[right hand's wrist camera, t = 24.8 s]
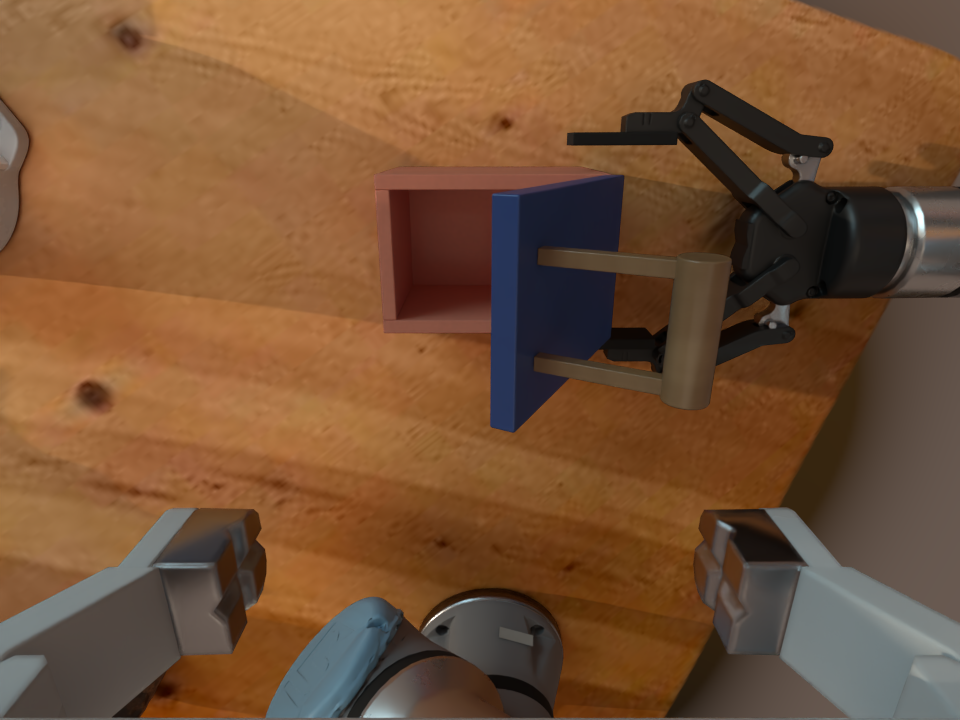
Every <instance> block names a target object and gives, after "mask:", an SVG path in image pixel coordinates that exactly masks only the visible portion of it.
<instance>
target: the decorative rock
mask: <svg viewBox="0 0 960 720" xmlns="http://www.w3.org/2000/svg"><path fill="white" fill-rule="evenodd" d="M165 673H166V671H165V672H164V673H163V674H162V675H160V676H159V677H158V678H157V679H156V680H155V681H153V682H152V683H151V684H150V685H149V686H148V687H146V688H145V689H144V690H143V691H142V692H140V693H139V694H138V695H137V696H136V697H135V698H133V699H132V700H131V701H130V702H129V703H128V704H126V705H125V706H124V707H123V708H122V709H121V710H119V711H118V712H117V713H116V714H115V715H114V716H112V717H111V718H140V716H141V715H142V713H143V712H144V711H145V709H146V707H147V705H148V703H149V701H150V700H151V699H152V697H153V696H154V694H155V692H156V690H157V686H158V685H159V683H160V682H161V680H162V679H163V677H164V675H165Z"/></svg>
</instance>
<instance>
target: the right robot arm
mask: <svg viewBox="0 0 960 720" xmlns="http://www.w3.org/2000/svg"><path fill="white" fill-rule="evenodd" d="M28 147H29V138H28V134H27V132H26V130H25V128H24V127H23V126H22V124H21V123H20V122H19V121H18V120H17V118H16V117H15V116H14V115H13V114H12V112H11V111H10V110H9V109H8V108H7V106H6V105H5V104H4V103H3V102H2V100H1V99H0V251H1V250H2V249H3V248H4V246H5V245H6V244H7V242H8V241H9V239H10V237H11V235H12V233H13V231H14V228H15V226H16V222H17V217H18V210H19V191H18V175H19V171H20V168H21V166H22V164H23V162H24V159H25V157H26V154H27V151H28ZM261 529H262V528H261V524H260V519H259V514H258V513H257V512H256V511H255V510H254V509H225V508H200V509H199V508H172V509H169V510H166V511H165V513H164V514H163V515H162V516H161V517H160V518H159V519H158V521H157V522H156V523H155V524H154V525H153V526H152V528H151V529H150V530H149V531H148V532H147V533H146V535H145V536H144V537H143V538H142V539H141V540H140V542H139V543H138V544H137V545H136V546H135V547H134V549H133V550H132V551H131V552H130V553H129V554H128V555H127V557H126V558H125V559H124V560H123V561H122V562H121V564H120V565H119V566H118V567H108V568H106V569H104V570H102V571H100V572H98V573H96V574H94V575H92V576H90V577H88V578H87V579H85V580H83V581H81V582H79V583H77V584H75V585H73V586H71V587H69V588H67V589H65V590H63V591H61V592H59V593H58V594H56V595H54V596H52V597H50V598H48V599H46V600H44V601H42V602H40V603H38V604H36V605H34V606H32V607H30V608H29V609H27V610H25V611H23V612H21V613H19V614H17V615H15V616H13V617H11V618H9V619H7V620H5V621H3V622H1V623H0V720H960V623H958V622H956V621H954V620H952V619H950V618H949V617H947V616H945V615H943V614H941V613H939V612H937V611H935V610H933V609H931V608H929V607H927V606H925V605H924V604H921V603H920V602H918V601H916V600H914V599H912V598H910V597H908V596H906V595H904V594H902V593H900V592H898V591H897V590H895V589H893V588H891V587H889V586H887V585H885V584H883V583H881V582H879V581H877V580H875V579H873V578H871V577H869V576H868V575H866V574H864V573H862V572H860V571H858V570H856V569H854V568H852V567H842V566H841V565H840V564H839V563H838V561H837V560H836V559H835V558H834V557H833V556H832V554H831V553H830V552H829V551H828V550H827V549H826V547H825V546H824V545H823V544H822V543H821V542H820V540H819V539H818V538H817V537H816V536H815V535H814V534H813V532H812V531H811V530H810V529H809V528H808V527H807V525H806V524H805V523H804V522H803V521H802V520H801V518H800V517H799V516H798V515H797V514H796V513H795V511H793V510H791V509H789V508H760V509H728V510H704V511H703V513H702V515H701V517H700V523H699V528H698V529H699V531H700V532H701V534H702V536H703V538H704V541H703V542H702V543H701V544H700V545H699V546H698V547H697V548H696V549H695V554H694V562H693V567H694V579H695V583H696V587H697V590H698V593H699V595H700V597H701V599H702V601H703V603H704V604H706V605H707V606H709V607H710V608H711V609H713V610H714V611H715V612H714V617H713V624H714V626H715V628H716V630H717V632H718V634H719V636H720V638H721V640H722V642H723V644H724V646H725V648H726V650H727V652H728V654H752V655H780V656H779V658H780V659H781V660H782V661H784V662H785V663H786V664H787V665H788V666H789V667H791V668H792V669H793V670H794V671H795V672H796V673H798V674H799V675H800V676H801V677H802V678H803V679H805V680H806V681H807V682H808V683H809V684H810V685H812V686H813V687H814V688H815V689H816V690H817V691H819V692H820V693H821V694H822V695H823V696H824V697H826V698H827V699H828V700H829V701H830V702H831V703H833V704H834V705H835V706H836V707H837V708H838V709H840V710H841V711H842V712H843V713H844V714H845V715H847V716H848V717H849V718H111V717H112V716H114V715H115V714H116V713H117V712H118V711H119V710H121V709H122V708H123V707H124V706H125V705H126V704H128V703H129V702H130V701H131V700H132V699H133V698H135V697H136V696H137V695H138V694H139V693H140V692H142V691H143V690H144V689H145V688H146V687H148V686H149V685H150V684H151V683H152V682H153V681H155V680H156V679H157V678H158V677H159V676H160V675H162V674H163V673H164V672H165V671H166V670H167V669H169V668H170V667H171V666H172V665H173V664H174V663H176V662H177V661H178V660H179V659H180V658H181V657H180V655H208V654H232V653H233V651H234V649H235V647H236V644H237V642H238V640H239V638H240V636H241V634H242V632H243V630H244V628H245V626H246V624H247V618H246V612H245V611H246V610H247V609H249V608H250V607H251V606H253V605H254V604H256V603H257V601H258V599H259V597H260V595H261V593H262V590H263V587H264V582H265V577H266V562H267V560H266V553H265V549H264V548H263V547H262V546H261V545H260V544H259V543H258V542H257V541H256V538H257V536H258V534H259V532H260V531H261Z"/></svg>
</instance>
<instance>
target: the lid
mask: <svg viewBox="0 0 960 720" xmlns="http://www.w3.org/2000/svg"><path fill="white" fill-rule="evenodd" d="M623 186H624V176H623V175H602V176H596V177H590V178H583V179H577V180H571V181H565V182H559V183H553V184H547V185H541V186H535V187H529V188H523V189H517V190H511V191H505V192H499V193H494V194H492V266H491V413H490V426H491V427H492V428H496V429H500V430H505V431H509V432H515V431H516V430H517V429H518V428H519V427H520V426H521V425H522V424H524V423H525V422H526V421H527V420H528V419H529V418H530V417H531V416H532V415H533V414H534V413H535V412H536V411H537V410H538V409H539V408H540V407H541V406H542V405H543V404H544V403H545V402H546V401H547V400H548V399H549V398H550V397H551V396H552V395H553V394H554V393H555V392H556V391H557V390H558V389H559V388H560V387H561V386H562V385H563V384H564V383H565V382H566V381H567V380H568V379H569V378H572V379H577V380H583V381H588V382H593V383H598V384H604V385H609V386H614V387H619V388H624V389H630V390H635V391H640V392H645V393H651V394H656V395H660V399H661V400H662V402H664V403H665V404H667V405H669V406H672V407H675V408H679V409H684V410H699V409H704V408H706V407H707V406H708V405H709V403H710V398H711V391H712V385H713V379H714V372H715V366H716V359H717V353H718V347H719V340H720V334H721V328H722V321H723V315H724V308H725V302H726V296H727V289H728V283H729V277H730V270H731V264H732V259H731V258H730V257H727V256H724V255H720V254H713V253H699V252H692V253H683V254H679V255H678V256H677V257H670V256H658V255H646V254H635V253H623V252H618V245H619V233H620V221H621V210H622V198H623ZM616 273H621V274H631V275H640V276H650V277H660V278H670V279H674V282H673V290H672V299H671V307H670V315H669V323H668V331H667V340H666V348H665V356H664V364H663V372H662V373H656V372H650V371H645V370H639V369H633V368H627V367H622V366H616V365H610V364H605V363H599V362H593V361H587V360H588V359H589V358H590V357H591V356H592V355H593V354H594V353H595V352H596V351H597V350H598V349H599V348H600V347H601V346H602V345H603V344H604V343H605V342H606V341H607V340H608V339H609V338H610V337H611V327H612V315H613V304H614V292H615V280H616Z"/></svg>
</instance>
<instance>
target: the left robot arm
mask: <svg viewBox="0 0 960 720" xmlns="http://www.w3.org/2000/svg"><path fill="white" fill-rule="evenodd" d="M701 112H702V113H704V114H706V115H708V116H709V117H711V118H713V119H714V120H716V121H718V122H720V123H721V124H723V125H725V126H727V127H728V128H730V129H732V130H734V131H735V132H737V133H739V134H741V135H742V136H744V137H746V138H747V139H749V140H751V141H753V142H754V143H756V144H758V145H760V146H761V147H763V148H765V149H767V150H769V151H771V152H774V153H777V154H782V155H783V156H782V158H781V160H782V163H783V165H784V166H785V167H787V168H789V169H790V170H791V171H792V173H793V179H792V180H789V181H787V182H786V183H784V184H783V185H781V186H780V187H778V188H777V189H775V190H773V189H772V188H771V187H770V186H769V185H767V184H766V183H764V182H762V181H761V180H760V179H759V178H758V177H757V176H756V175H755V174H754V173H753V172H752V171H751V170H750V169H749V168H748V167H747V166H746V165H745V164H744V163H743V161H742V160H741V159H740V158H739V157H738V156H737V155H736V154H735V153H734V152H733V151H732V150H731V149H730V148H729V147H728V146H727V145H726V144H725V143H724V142H723V141H722V140H721V139H720V138H719V137H718V136H717V135H716V134H715V133H714V132H713V131H712V130H711V129H710V128H709V127H708V125H707V124H706V123H705V122H704V121H703V120H702V119H701V118H700V115H701ZM677 139H679V140H680V141H681V142H682V143H683V144H684V145H685V146H686V147H687V148H688V149H689V150H690V151H691V152H692V153H693V154H694V155H695V156H696V157H697V158H698V159H699V160H700V161H701V162H702V163H703V164H704V165H705V166H706V167H707V168H708V169H709V170H710V171H711V172H712V173H713V174H714V175H715V176H716V177H717V178H718V179H719V180H720V181H721V182H722V183H723V184H724V185H725V186H726V187H727V188H728V189H729V190H730V191H731V193H732V195H733V197H734V198H735V199H736V200H737V201H738V202H739V203H740V204H741V205H742V206H743V207H744V208H745V209H746V210H745V211H744V212H743V213H742V215H741V217H740V219H736V223H735V230H734V231H735V240H736V242H735V245H734V247H733V249H732V252H731V256H730V258H731V259H732V264H731V265H732V266H733V270H734V272H733V273H731V274H730V277H729V283H728V289H727V296H726V302H725V308H724V315H723V321H724V320H725V319H727V318H728V317H729V316H731V315H732V314H733V313H735V312H736V311H738V310H739V309H741V308H745V307H748V306H750V305H752V304H753V303H754V302H756V301H757V300H759V299H760V298H761V297H764V298H765V299H767V300H768V301H770V304H769V306H768V308H767V309H766V310H764V311H761V312H759V313H756V314H755V315H754V319H752V320H747V321H744V322H741V323H738V324H736V325H733V326H731V327H729V328H727V329H724V330H722V331H721V334H720V340H719V347H718V353H717V359H716V366H717V365H719V364H722V363H724V362H726V361H728V360H731V359H733V358H735V357H737V356H740V355H742V354H744V353H747V352H749V351H751V350H753V349H756V348H758V347H760V346H763V345H772V344H781V343H788V342H790V341H792V340H793V338H794V337H795V330H794V329H793V328H791V327H790V326H788V323H789V309H790V304H792V303H794V302H796V301H798V300H801V299H806V298H815V299H819V298H867V297H873V298H930V297H960V187H887V188H882V187H822V186H819V185H817V184H816V183H815V182H814V180H815V176H816V173H817V170H818V167H819V163H820V160H821V158H824V157H826V156H828V155H829V154H830V153H831V152H832V150H833V141H832V140H831V139H829V138H826V137H818V136H810V135H801V134H799V133H798V132H796V131H794V130H793V129H791V128H789V127H787V126H786V125H784V124H782V123H781V122H779V121H777V120H776V119H774V118H772V117H770V116H769V115H767V114H765V113H764V112H762V111H760V110H759V109H757V108H755V107H753V106H752V105H750V104H748V103H747V102H745V101H743V100H741V99H740V98H738V97H736V96H735V95H733V94H731V93H730V92H728V91H726V90H724V89H723V88H721V87H719V86H718V85H716V84H714V83H713V82H711V81H709V80H701V81H697V82H693V83H690V84H687V85H686V86H685V87H684V88H683V89H682V92H681V99H680V101H679V103H678V105H677V107H676V108H675V109H674V110H673V111H672V112H635V113H630V114H627V115H625V116H622V119H621V132H585V133H567V145H677ZM667 331H668V325H666V326H665V327H664V328H662V329H661V330H660V331H658V332H657V333H656V334H654V335H653V336H652V335H651V334H650V333H649V332H648V330H647V329H646V328H611V337H610V338H609V339H608V340H607V341H606V342H605V343H604V344H603V345H602V346H601V347H600V348H599V349H598V350H604V354H605V356H606V357H607V359H609V360H612V361H649V362H651V370H652V371H653V372H656V373H662V372H663V364H664V356H665V348H666V340H667ZM403 614H404V613H403V612H402V610H401V609H396V608H395V607H393V606H392V605H391V604H390V603H388V602H387V601H386V600H384V599H382V598H379V597H368V598H364V599H361V600H359V601H357V602H355V603H353V604H351V605H350V606H348V607H347V608H345V609H344V610H343V611H342V612H341V613H339V614H338V615H336V616H335V617H334V618H333V619H332V620H331V621H330V622H329V623H328V624H326V625H325V626H324V627H323V629H322V630H321V631H320V632H319V633H318V634H317V635H316V636H315V637H314V638H313V639H312V640H311V641H310V643H309V644H308V645H307V646H306V648H305V649H304V650H303V651H302V653H301V654H300V655H299V657H298V658H297V659H296V661H295V662H294V663H293V665H292V666H291V668H290V669H289V671H288V672H287V674H286V675H285V677H284V679H283V680H282V682H281V684H280V686H279V687H278V689H277V692H276V694H275V696H274V697H273V699H272V701H271V704H270V706H269V709H268V711H267V714H266V718H554V717H553V707H554V702H555V698H556V693H557V688H558V684H559V679H560V674H561V669H562V663H563V648H562V641H561V635H560V631H559V628H558V626H557V623H556V622H555V620H554V618H553V617H552V616H551V614H550V613H549V612H548V611H547V610H546V609H545V608H544V607H543V606H542V605H540V604H539V603H538V602H536V601H534V600H533V599H531V598H529V597H527V596H525V595H522V594H520V593H517V592H513V591H509V590H503V589H490V588H489V589H476V590H470V591H466V592H463V593H459V594H457V595H454V596H452V597H450V598H448V599H446V600H444V601H443V602H441V603H440V604H438V605H437V606H436V607H435V608H434V609H433V610H431V612H430V613H429V614H428V615H427V616H426V618H425V619H424V621H423V623H422V624H421V627H420V629H419V631H418V630H417V629H416V628H415V627H414V626H413V625H412V624H411V623H410V622H409V621H408V620H407V619H406V618H405V617H403Z"/></svg>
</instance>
